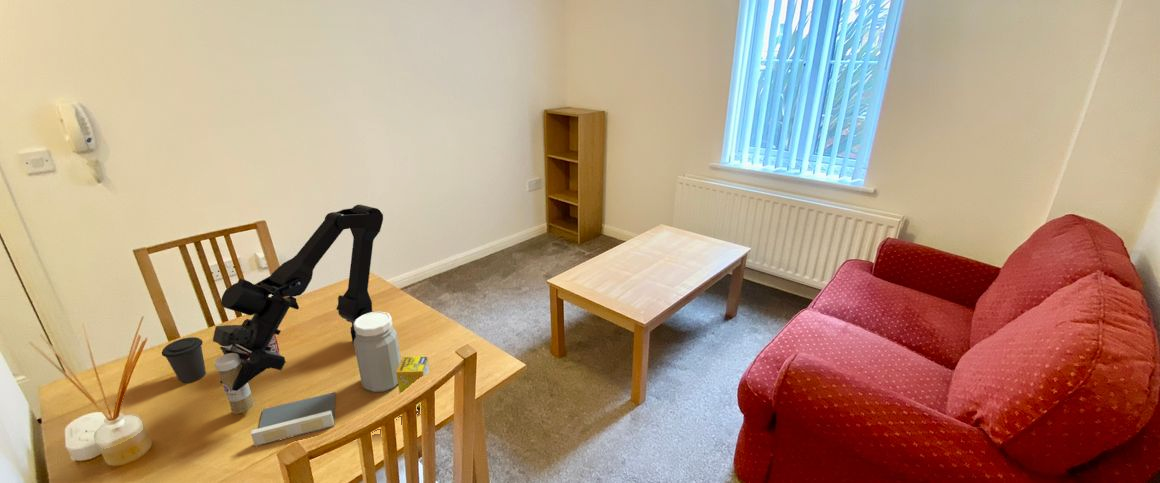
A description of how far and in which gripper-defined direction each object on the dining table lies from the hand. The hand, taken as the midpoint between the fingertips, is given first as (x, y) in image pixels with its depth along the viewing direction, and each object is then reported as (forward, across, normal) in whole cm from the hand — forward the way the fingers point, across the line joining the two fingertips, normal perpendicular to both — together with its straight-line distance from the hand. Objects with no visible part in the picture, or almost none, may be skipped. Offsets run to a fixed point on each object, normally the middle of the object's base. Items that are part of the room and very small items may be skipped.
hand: (228, 386), depth 107 cm
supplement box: (-11, +32, +23) cm, 41 cm away
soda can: (-4, -15, +16) cm, 23 cm away
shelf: (+1, +12, +10) cm, 16 cm away
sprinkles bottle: (+4, 0, +6) cm, 7 cm away
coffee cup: (+5, -24, +7) cm, 26 cm away
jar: (-11, +19, +24) cm, 32 cm away
